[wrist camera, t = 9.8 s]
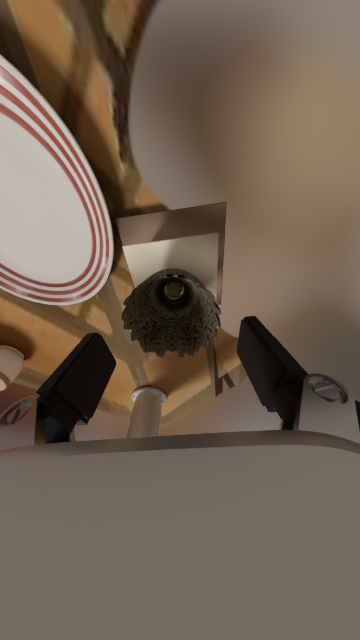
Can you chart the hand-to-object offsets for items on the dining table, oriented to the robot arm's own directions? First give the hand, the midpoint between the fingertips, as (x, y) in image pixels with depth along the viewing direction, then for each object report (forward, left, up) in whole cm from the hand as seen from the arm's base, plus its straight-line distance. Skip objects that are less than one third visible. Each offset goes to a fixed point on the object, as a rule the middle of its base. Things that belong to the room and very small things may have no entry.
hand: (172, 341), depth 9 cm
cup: (0, 0, -10) cm, 10 cm away
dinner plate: (+10, +22, -20) cm, 31 cm away
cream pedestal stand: (0, 0, -19) cm, 19 cm away
